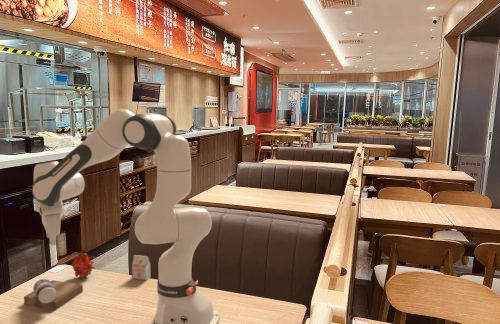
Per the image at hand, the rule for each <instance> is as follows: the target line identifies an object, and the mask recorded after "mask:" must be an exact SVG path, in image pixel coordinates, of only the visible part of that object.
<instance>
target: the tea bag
mask: <svg viewBox="0 0 500 324" xmlns="http://www.w3.org/2000/svg"><path fill="white" fill-rule="evenodd" d="M151 273H152V272H151V262H150V258H149V256H148V255H137V254H133V257H132V262H131V279H132V280H139V281H144V282H145V281H148V280H149V279H150V278H152V275H151Z"/></svg>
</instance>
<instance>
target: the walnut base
mask: <svg viewBox="0 0 500 324" xmlns="http://www.w3.org/2000/svg"><path fill="white" fill-rule="evenodd" d="M50 282H51V283H52V284H53V286H54V287H55V289H56V290H57V295H56V297H55V299H54V300H53V301H51V302H49V303H41V302H40V301H39V300H38V298H37V296H36V295H35V293H34V291H32V292H30V293H28V294H26V295H25V296H23V302H24V305H26V306H31V307H32V306H33V307H38V308H42V309H43V308H44V309H47V310H54V311H57V310H59V308H61V307H63V306H64V305H66V304H68V302H70V301H72V300H73V299H75V298H76V297H78V296H79V295H81V294H83V292H84V288H83V284H79V283H73V282H67V281H61V280H60V281H59V280H53V279H52V280H51V281H50Z"/></svg>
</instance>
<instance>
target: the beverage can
mask: <svg viewBox="0 0 500 324" xmlns="http://www.w3.org/2000/svg"><path fill="white" fill-rule="evenodd" d="M32 289H33V291H34V293H35V295H36V296H37V298H38V300H39V301H40V302H41V303H49V302H51V301H53V300H54V299H55V297H56V295H57V290H56V289H55V287H54V286H53V284H52V283H51V281H50V280H49V279H48V278H42V279H39V280H37V281H36V282H35V283H34V284H33V288H32ZM33 291H32V292H33Z"/></svg>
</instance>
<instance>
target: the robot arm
mask: <svg viewBox="0 0 500 324" xmlns="http://www.w3.org/2000/svg"><path fill="white" fill-rule="evenodd" d="M128 145H130V146H131V147H133V148H136V149H139V150H142V151H145V152H147V153H151V152H154V153H155V156H156V172H157V173H156V190H155V195H154V198H153V199H152V201H151V203H150V204H149V206H148V207H147V208H146V209H145V211H144V212H142V213H141V214H139V216H138V217H137V218H136V221H135V222H134V223H135V224H134V234H135V236H136V238H137V239H138V241H139V242H140V243H141V244H146V245H160V244H161V245H162V244H168V243H173V245H171V246H170V247H169V248H168V249H167V250H166V251H164V252H163V253H162V254H161V256H160V257H159V259H158V279H157V284H156V285H157V286H156V287H157V295H158V297H157V298H158V299H157V306H156V312H155V316H154V323H155V324H218V323H219V321H220V320H221V319H220V317H221V316H220V315H221V314H220V312H219V311H218V310H216V309H214V306H213V302H212V300H211V299H210V298H209V297H207V295H205V294H204V293H203V292H202V291H200V290H199V289H198V288H197V285H198V284H199V280H198V279H197V280H196V281H195V280H194V279H193V277H192V267H193V266H192V265H193V264H192V263H193V257H194V253H195V251H196V249H197V247H198V245H199V244H200V243H201V241H202V240H203V239H204V238H205V237H206V236H208V235H209V233H210V231H211V230H212V227H213V226H212V225H213V219H212V215H211V214H210V212H209V211H208V210H207V209H206V208H204V207H194V206H189V207H181V208H180V207H177V208H175V207H176V206H177V204H178V203H179V202H180V201H182V200H183V199H185V198H186V197H187V196H188V195H190V193H191V190H192V157H191V150H190V144H189V141H188V139H187V138H185V137H183V136H182V135H179V134H177V125H176V122H175V121H174V119H172V117H170V116H169V115H167V114H164V113H153V112H147V113H137V114H135V113H134V112H133V111H131V110H129V109H126V108H118V109H116V110H115V111H114V112H112V113H111V114H110V115H108V116H107V117H106V118H104V120H103V121H102V122H101V123H100V124H98V126H97V127H96V128H95V129H94V130H93V131H92V132H91V133H90V134H89V135H88V136H87V137H86V138H85V139H84V140H82V142H80V144H78V145H77V146H76V147H75V148H74V149H72V150H71V151H70V152H69V153H68V154H67V155H65V157H64V158H63V159H61V160H60V161H58V160H57V161H56V160H49V161H44V162H39V163H37V164H35V165H34V169H33V182H32V183H33V184H32V186H31V194H32V196H33V198H34V204H35V205H34V209H35V212H37V213H39V215H40V216H41V222H42V225H43V227H44V230H45V232H46V237H47V239H49V245H50V246H55V245H57V241H56V240H57V236H60V232H61V224H62V223H61V221H62V220H61V217H62V216H61V214H62V213H63V208H64V206H63V204H64V203H63V201H65V200H69V199H71V198H73V197H74V198H75V197H77V196H79V195H81V194H83V193H84V190H85V187H86V180H85V178H84V176H83V174H81V173H80V172H81V171H82V170H84V169H86V168H88V167H91V166H94V165H97V164H101V163H103V162H107V161H110V160H111V159H113V158H115V157H116V156H118V155H119V154H120V153H121V152H122V151H123V150H124V149H125V148H126V147H127V146H128Z"/></svg>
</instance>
